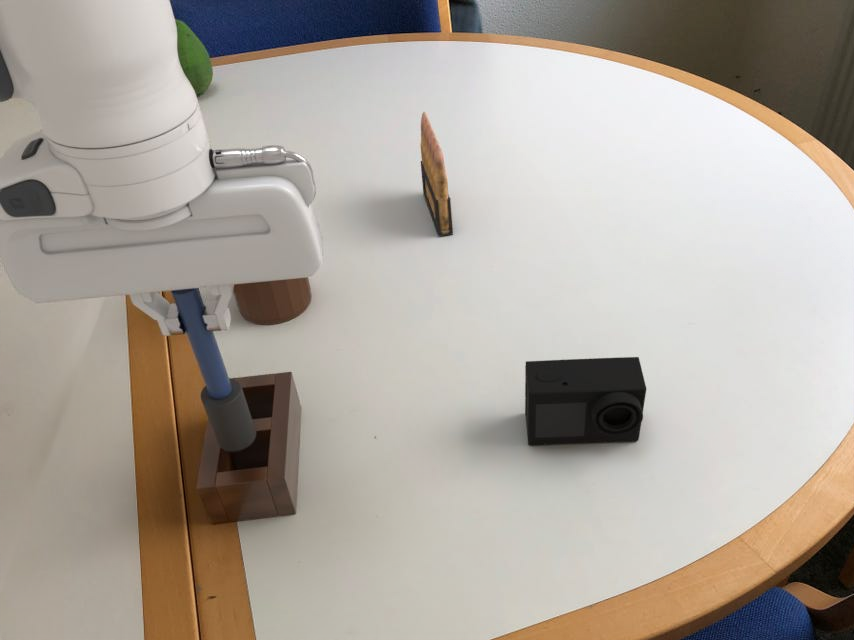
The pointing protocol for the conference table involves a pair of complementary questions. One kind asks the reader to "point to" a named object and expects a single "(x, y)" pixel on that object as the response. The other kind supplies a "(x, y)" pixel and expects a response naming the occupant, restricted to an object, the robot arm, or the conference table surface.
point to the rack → (256, 456)
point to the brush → (215, 378)
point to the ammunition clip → (435, 180)
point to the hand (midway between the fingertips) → (197, 327)
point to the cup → (273, 300)
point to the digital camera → (584, 400)
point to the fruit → (193, 58)
